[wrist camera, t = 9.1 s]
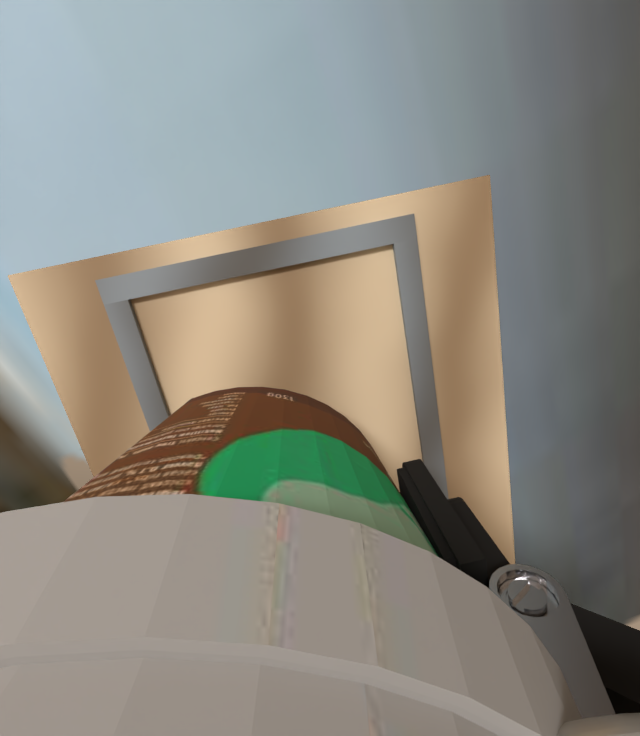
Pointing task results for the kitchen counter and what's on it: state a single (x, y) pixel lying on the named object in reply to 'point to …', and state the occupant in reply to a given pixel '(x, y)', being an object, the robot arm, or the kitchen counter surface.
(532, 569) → the robot arm
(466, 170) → the kitchen counter surface
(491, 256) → the base board
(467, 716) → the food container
